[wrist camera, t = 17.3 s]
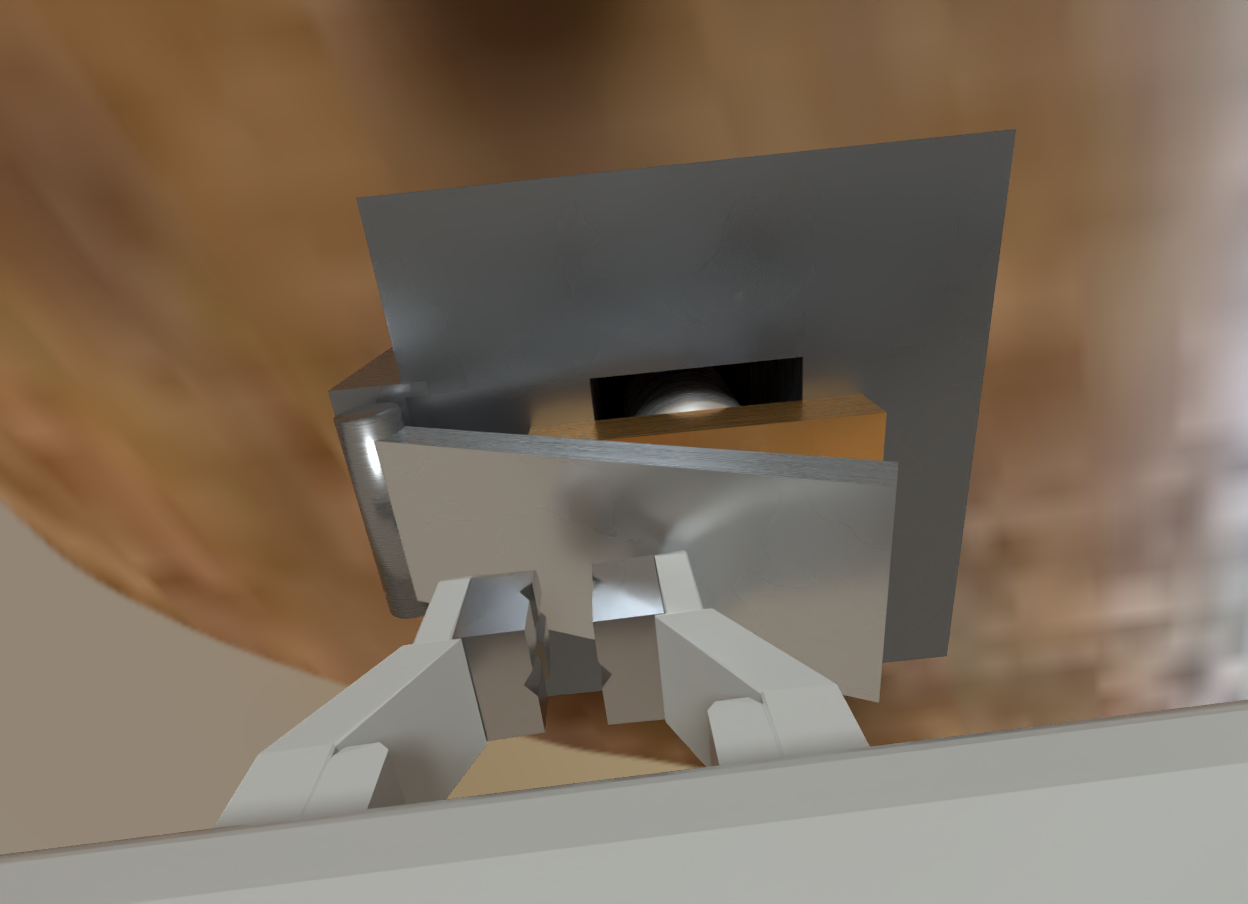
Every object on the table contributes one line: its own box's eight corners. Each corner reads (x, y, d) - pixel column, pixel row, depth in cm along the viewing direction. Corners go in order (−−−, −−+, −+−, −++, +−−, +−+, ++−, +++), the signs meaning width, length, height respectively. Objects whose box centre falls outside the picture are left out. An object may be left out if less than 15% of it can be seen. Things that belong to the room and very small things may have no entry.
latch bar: (900, 429, 8) (898, 465, 7) (880, 677, 10) (876, 732, 9) (367, 401, 13) (319, 421, 12) (415, 581, 14) (377, 612, 13)
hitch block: (893, 150, 16) (1016, 128, 11) (867, 552, 20) (946, 656, 16) (370, 205, 16) (273, 206, 11) (462, 593, 20) (421, 709, 16)
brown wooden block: (798, 342, 17) (887, 404, 12) (796, 442, 18) (877, 541, 13) (547, 366, 17) (522, 441, 12) (561, 465, 18) (544, 572, 13)
